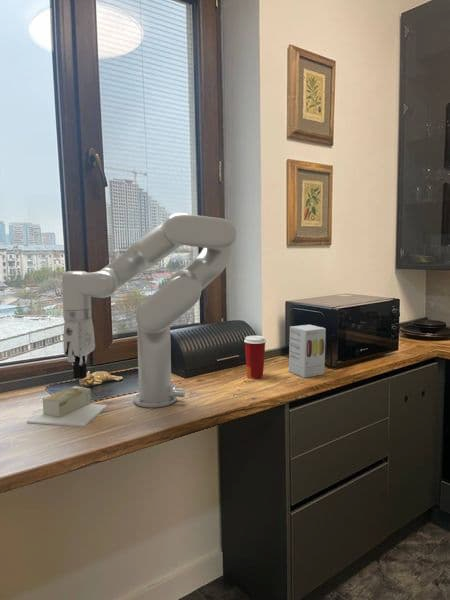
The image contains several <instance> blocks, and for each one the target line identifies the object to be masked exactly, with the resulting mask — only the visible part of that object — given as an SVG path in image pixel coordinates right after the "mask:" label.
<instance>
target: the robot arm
mask: <svg viewBox="0 0 450 600" xmlns="http://www.w3.org/2000/svg"><path fill="white" fill-rule="evenodd" d="M236 239H237V229H236V227H235V225H234V224H233V223H232V222H231V221H230V220H229V219H226V218H222V217H214V216H206V215H198V214H191V213H187V212H186V213H184V212H175V213H172V214H171V215H169V216H168V217H167V218H166V219H165V220H163V221H162V222H160V224H158V225H156V226H155V227H154V228H152V229H151V230H149V232H147V233H145V234H144V235H143V236H141V237H140V238H138V239H137V240H136V241H134V242H133V243H132V244H130V246H129V247H128V248H127V250H126V251H124V252H123V253H122V254H121V255H120V256H118V257H117V258H115V259H114V260H112V261H111V262H110V263H109V264H107V265H106V266H104V267H103V268H102V269H100V270H98V271H94V272H93V271H92V272H87V271H84V270H68V271H65V272H63V273H62V275H61V291H62V292H61V293H62V308H63V309H62V314H63V315H62V316H63V322H64V325H63V335H62V336H63V355H65V357H67V362H68V363H71V365H72V368H73V369H72V370H73V371H72V372H73V378H74V379H78V380H79V379H80V380H83V379H85V378H87V377H88V376H87V373H88V371H87V363H88V356H89V355H90V353H91V352H93V351H95V348H96V339H95V328H94V323H93V319H92V299H91V298H100V299H105V298H109V297H111V296H112V295H114V294H115V292H116V291H117V290H118V289H120V288H121V287H123V286H124V285H126V284H127V283H128V282H130V281H131V280H132V279H133V278H136V276H138V275H139V274H141V273H143V272H145V271H147V270H148V271H149V270H150V269H151V268H153V267H154V266H156V265H158V263H160V262H162V260H163V259H165V258H167V257H168V256H169V255H171V254H172V253H173V252H175V251H176V250H178V249H179V248H180V247H182V246H186V247H187V246H188V247H197V248H202V249H201V250H200V253H198V254H197V255H196V256H195V257H194V258H193V259H191V261H190V262H188V263H187V264H186V265H185V266H183V267H182V268H181V269H180V270H178V271H176V272H175V273H173V274H172V275H171V276H169V278H168V280H167V282H166V283H165V284H164V285H162V286H161V287H160V288H159V289H157V290H156V291H155V292H154V293H153V294H152V293H151V294H148V295H146V296H144V297H142V298H141V299H140V300H139V302H138V303H137V306H136V309H135V321H136V324H137V325H136V327H137V328H136V329H137V332H136V333H137V365H138V366H137V368H138V371H137V372H138V393H137V394H136V395H134V397H133V402H134V404H135V405H137V406H139V407H142V408H162V407H166V406H169V405H172V404H174V403H175V402H176V401H177V399H178V398H185V397H186V391H185V390H184V388H176V387H175V383H172V361H171V358H172V357H171V355H172V353H171V352H172V351H171V347H172V346H171V345H172V343H171V325H173V324H174V323H175V322H176V321H178V320H179V319H180V318H181V317H183V315H185V314H186V313H188V311H190V310H191V309H192V308H193V307H194V306H195V305H196V304H197V303H198V301H199V300H200V298H201V295H202V291H203V290H204V289H205V288H207V286H209V284H211V283H212V282H213V281H214V280H215V279H216V278H217V277H218V276H220V275H221V274H222V273H223V271H224V270H225V269H226V267H227V265H228V263H229V260H230V256H231V252H232V246H233V244H234V243H235V242H236Z"/></svg>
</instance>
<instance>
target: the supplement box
mask: <svg viewBox="0 0 450 600" xmlns="http://www.w3.org/2000/svg"><path fill="white" fill-rule="evenodd" d="M326 331H327V330H326V328H325V327H323V326H318V325H314V324H313V325H312V324H301V325H294V326H293V325H291V326H289V346H288V347H289V352H288V353H289V355H288V372H290V373H291V374H295V375H297V376H299V377H300V378H301V377H302V378H304V379H305V378H311V377H317V375H318V376H321V375H322V376H323V375H325V363H326V335H327V333H326Z"/></svg>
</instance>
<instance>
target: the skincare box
mask: <svg viewBox="0 0 450 600" xmlns="http://www.w3.org/2000/svg"><path fill="white" fill-rule="evenodd" d="M91 390H92V389H91V388H89V387H88V388H87V387H83V386H78V385H75V386H74V385H73V386H72V387H70V388H67V389H64V390H62V391H59V392H57V393H54V394H52V395H50V396H48V397H45V398H43V399H42V411H43V413H44V414H47V415H51V416H57V417H61V416H64V415H66V414H68V413H70V412H72V411H74V410H76V409H78V408H80V407H83V406H85V405H87V404H92V393H91Z"/></svg>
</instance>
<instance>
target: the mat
mask: <svg viewBox="0 0 450 600" xmlns="http://www.w3.org/2000/svg"><path fill="white" fill-rule="evenodd" d="M106 408H108V404H98V403H97V404H94V403H93V404H92V403H89V404H87V405H85V406H83V407H80V408H78V409H76V410H74V411H72V412H70V413H68V414H66V415H64V416H61V417H57V416H51V415H47V414H44V413H43V410H42V411H40V412H38V413H37V414H35V415H34V416H32V417H31V418H29V419H28V420H26V423H27V424H36V425H37V424H38V425H39V424H40V425H51V426H52V425H53V426H67V427H79V428H85V427H86V426H87V425H89V423H90V422H92V421H93V420H94V419H95V418H96V417H98V416H99V415H100V414H101V413H102V412H103V411H104V410H105V409H106Z"/></svg>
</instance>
